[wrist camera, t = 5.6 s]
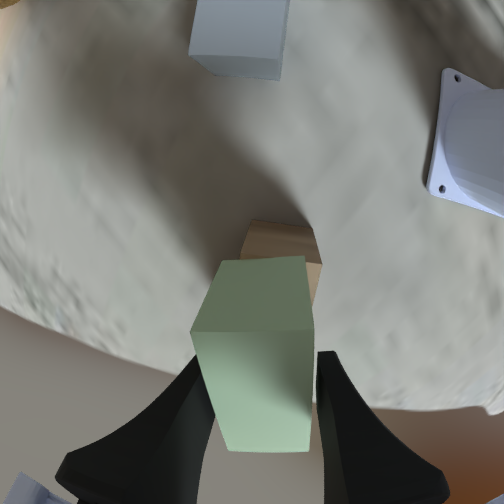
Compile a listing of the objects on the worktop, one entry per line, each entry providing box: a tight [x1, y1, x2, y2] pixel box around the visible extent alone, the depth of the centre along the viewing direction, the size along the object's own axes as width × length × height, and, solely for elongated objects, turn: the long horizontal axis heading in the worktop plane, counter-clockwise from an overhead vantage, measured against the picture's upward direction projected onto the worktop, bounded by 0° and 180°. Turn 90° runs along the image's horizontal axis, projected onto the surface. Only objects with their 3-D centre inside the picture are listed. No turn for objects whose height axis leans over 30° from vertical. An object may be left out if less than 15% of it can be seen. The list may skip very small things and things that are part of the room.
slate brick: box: [188, 0, 290, 81], centre depth 10 cm, size 7×4×5 cm, turn 173°
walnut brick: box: [239, 220, 322, 305], centre depth 16 cm, size 7×4×5 cm, turn 173°
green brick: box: [190, 256, 314, 452], centre depth 12 cm, size 7×4×5 cm, turn 6°
